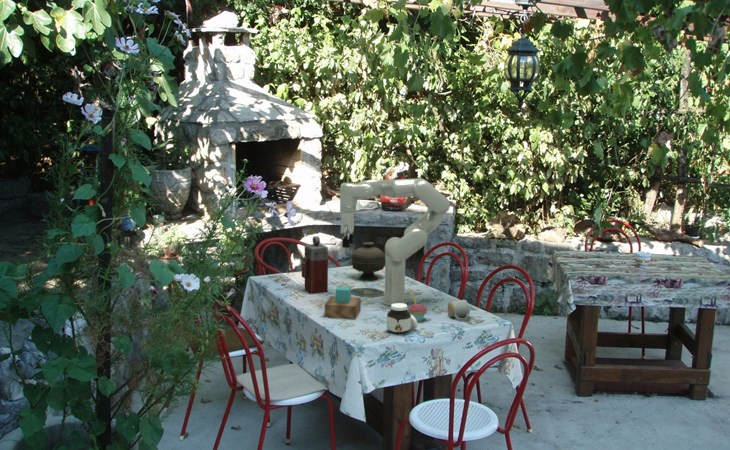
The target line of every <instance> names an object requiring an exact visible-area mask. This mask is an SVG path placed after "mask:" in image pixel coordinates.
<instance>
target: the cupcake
mask: <svg viewBox="0 0 730 450" xmlns="http://www.w3.org/2000/svg"><path fill="white" fill-rule="evenodd" d="M413 296H414V300H413V302H414V303H413V304H410V305H409V307H407V310H408V311H409V312H410V314H411V315H413V316H414V317H415V318H416V320H417V322H421V321H423V320H424V317H425V315H426V314H427V313H428V308H427V306H426V305H424V304H423V303H417V302H416V300H417V299H416V295H415V294H413Z"/></svg>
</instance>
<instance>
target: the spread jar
mask: <svg viewBox="0 0 730 450" xmlns="http://www.w3.org/2000/svg"><path fill="white" fill-rule="evenodd" d="M418 322H419V321H417V320H416V318H415V317H414V316H413V315H411V314H410V312H409V311H408V305H407V304H403V303H394V304H392V305H390V310H389V311H388V312H387V315H386V329H387V330H388V331H389V332H390V333H391V334H394V335H405V334H406V333H408V332H409V331H410V330H416V329H417V328H418V326H419V323H418Z"/></svg>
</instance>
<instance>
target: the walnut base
mask: <svg viewBox="0 0 730 450" xmlns="http://www.w3.org/2000/svg"><path fill="white" fill-rule="evenodd" d="M361 299H362V298H361V297H352V296H351V300H350V302H349V303H335V296H333V295H331V296H330V297H329V298H328V300H327V301H326V302H325V304H324V318H325V317H328V318H327V319H342V320H343V319H345V320H346V319H347V320H357V318H358V316H359V314H360V312H361V311H362V310H361V309H362V308H361V307H362V306H361V305H362V302H361V301H362V300H361Z"/></svg>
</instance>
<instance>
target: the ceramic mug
mask: <svg viewBox="0 0 730 450" xmlns="http://www.w3.org/2000/svg"><path fill="white" fill-rule="evenodd" d="M469 306H470V305H469V303H468V301H467V300H466V299H461V300H454V301H450V302H448V304H447V307H446V308H447V309H446V310H447V314H448V316H449V317H450V318H455V319H456V320H457V321H459V320H465V321H467V320H468V317H469V314H470V307H469Z"/></svg>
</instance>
